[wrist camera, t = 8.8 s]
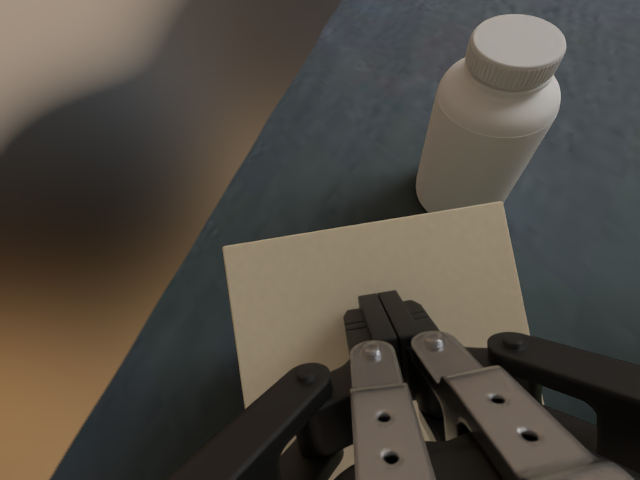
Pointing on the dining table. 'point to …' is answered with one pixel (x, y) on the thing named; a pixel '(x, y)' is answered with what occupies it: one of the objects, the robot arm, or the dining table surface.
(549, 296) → the dining table surface
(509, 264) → the lid
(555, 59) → the pill bottle
